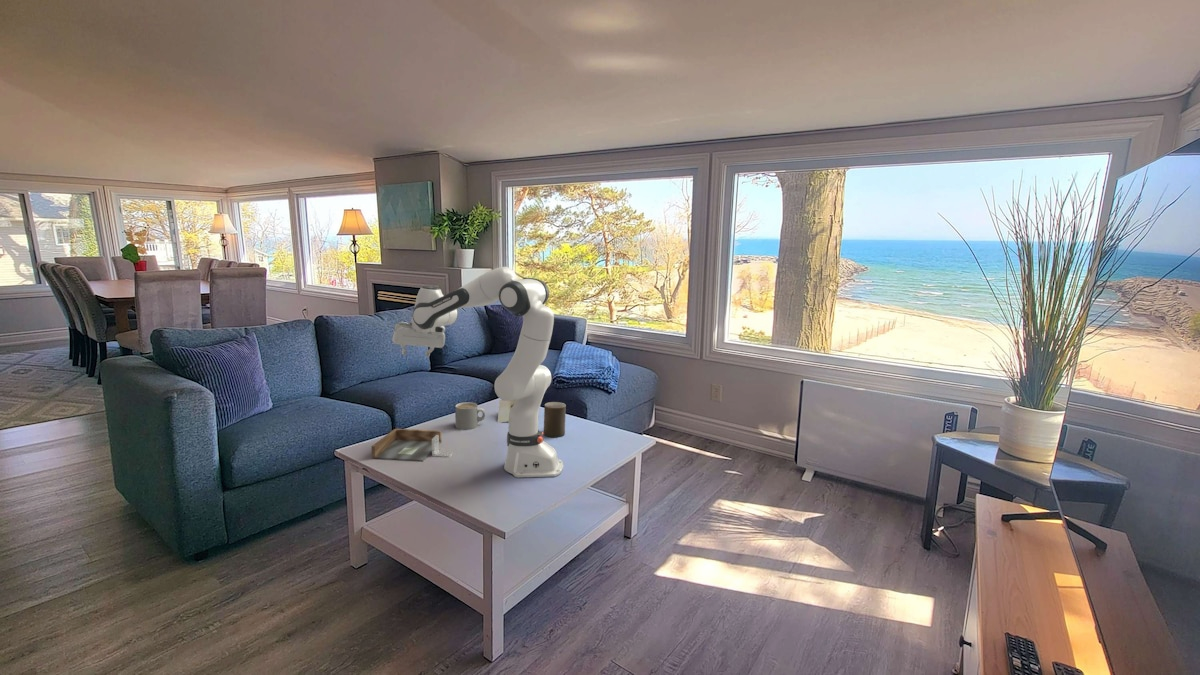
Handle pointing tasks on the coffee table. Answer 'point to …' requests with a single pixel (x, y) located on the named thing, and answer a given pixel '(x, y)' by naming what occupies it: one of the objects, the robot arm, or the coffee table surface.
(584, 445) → the coffee table surface
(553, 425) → the pillar candle
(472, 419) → the coffee mug
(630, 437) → the coffee table surface
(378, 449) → the tray
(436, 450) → the aluminium bracket
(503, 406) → the wall
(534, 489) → the coffee table surface
